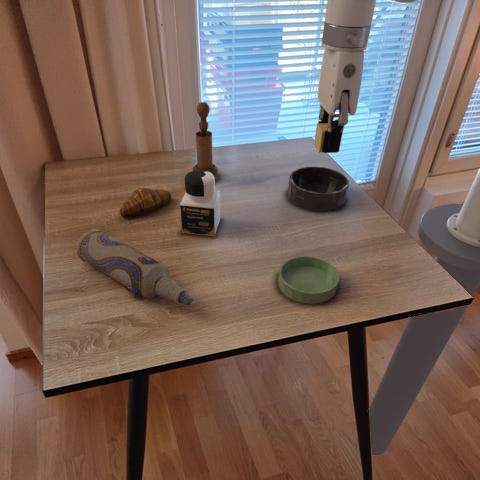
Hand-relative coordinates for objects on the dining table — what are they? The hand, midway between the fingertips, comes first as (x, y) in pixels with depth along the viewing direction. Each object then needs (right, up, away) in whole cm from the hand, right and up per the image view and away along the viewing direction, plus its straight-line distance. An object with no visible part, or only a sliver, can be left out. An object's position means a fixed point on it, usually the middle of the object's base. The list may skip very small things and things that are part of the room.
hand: (326, 146), depth 82 cm
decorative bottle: (-37, -28, -5) cm, 46 cm away
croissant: (-39, -8, +15) cm, 42 cm away
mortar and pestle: (-26, +3, +26) cm, 37 cm away
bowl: (+2, -4, +20) cm, 21 cm away
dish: (-4, -27, -3) cm, 28 cm away
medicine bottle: (-25, -14, +10) cm, 31 cm away
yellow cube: (0, 0, 0) cm, 0 cm away
